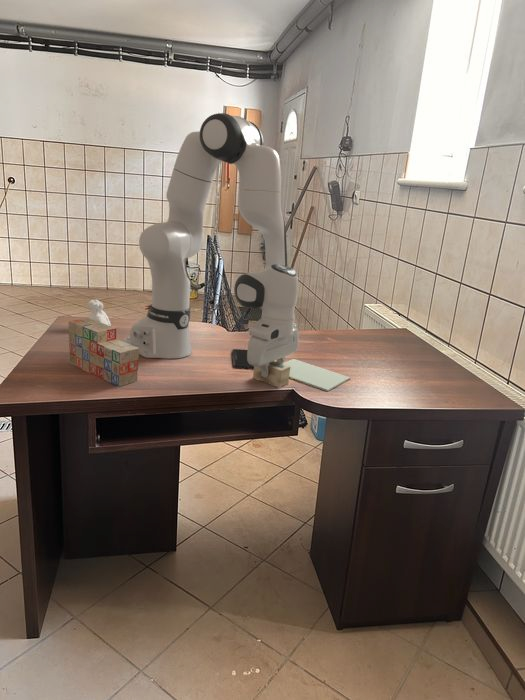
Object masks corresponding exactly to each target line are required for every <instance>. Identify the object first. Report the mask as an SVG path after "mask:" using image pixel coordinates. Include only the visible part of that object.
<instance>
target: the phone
mask: <svg viewBox="0 0 525 700" xmlns="http://www.w3.org/2000/svg"><path fill="white" fill-rule="evenodd" d="M247 352H248V349H238V348H236V349H235V348H233V349H232V351H231V357H232V362H233V363H232V364H233V368H235V369H242V368H243V369H244V368H245V369H246V368H247V369H246V370H254V366H253V365H250V364H249V363H248V361H247Z"/></svg>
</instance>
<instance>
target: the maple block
mask: <svg viewBox="0 0 525 700" xmlns="http://www.w3.org/2000/svg"><path fill="white" fill-rule="evenodd" d="M268 370H270V375H269V376H268V377H263V376H262V375H261V373H262V370H261V367H256V366H254V369H253V374H252V375H253V376H252V379H254V378H255V380H257V379H258V381H260V380H262V381H261V382H263V381H264V382H263V383H265V382H267V383H266V384H268V383H270V384H269V385H271V384H272V385H271V386H274V385H275V386H274V387H276V386H278V387H277V388H279V387H280V386H282V387H283V385H284V386H286V385H288V384H289V381H290V378H289V374H290V366H287V365H284V364H281V363H278V362H276V360H275V361H272V362H270V363H269V366H268ZM287 383H288V384H287ZM285 384H286V385H285ZM280 388H281V387H280Z"/></svg>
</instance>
